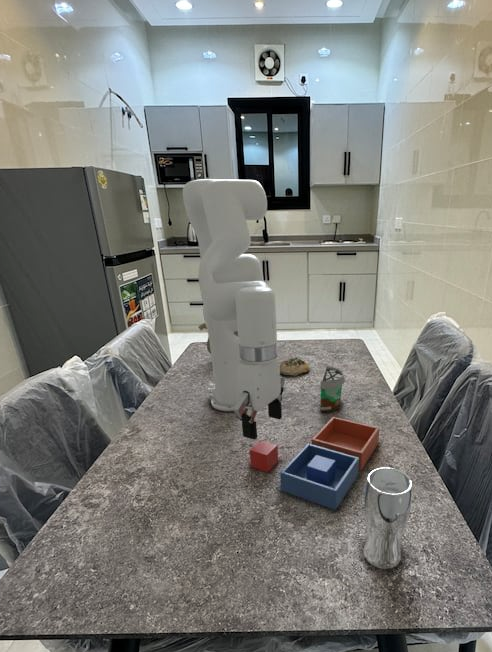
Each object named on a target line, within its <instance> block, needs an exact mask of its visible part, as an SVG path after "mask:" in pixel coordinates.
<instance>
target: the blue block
mask: <svg viewBox="0 0 492 652" xmlns="http://www.w3.org/2000/svg"><path fill="white" fill-rule="evenodd" d="M334 479H335V460H332V459H329V458H325V457H322V456H318V455H316V456H315V457H314V458H313V459H312V460H311V461H310V463H309V464H308V465H307V480H310V481H313V482H316V483H319V484H322V485H325V486H328V487H329V486H330V484H331V483H332V481H333V480H334Z"/></svg>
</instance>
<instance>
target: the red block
mask: <svg viewBox="0 0 492 652" xmlns="http://www.w3.org/2000/svg"><path fill="white" fill-rule="evenodd" d="M278 448H279V447H278V444H276V443H272V442H268V441H265V440H260V441H258V442H257V443H256V444H254V446H253V447H251V448H250V449H249V458H250V467H251V468H254V469H257V470H260V471H263V472H265V473H269V472H270V471H271V470H272V469H273V467H275V466H276V465H277V464H278V463H279V449H278Z"/></svg>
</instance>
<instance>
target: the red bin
mask: <svg viewBox="0 0 492 652" xmlns="http://www.w3.org/2000/svg"><path fill="white" fill-rule="evenodd" d="M379 439H380V427H378V426H373V425H369V424H365V423H360V422H357V421H353V420H348V419H345V418H340V417H335V416H332V417H331V418H330V419H329V420H328V421H327V422H326V424H324V426H323V427H321V429H320V430H319V431H317V433H316V434H315V435H314V436H313V437H312V438H311V444H312V445H316V446H319V447H323V448H327V449H330V450H334V451H337V452H341V453H344V454H348V455H351V456H355V457H358V458H359V468H358V471H362V470H363V468H364V467H365V466H366V464H367V462H368V460H369V459H370V457H371V456H372V454H373V452H374V451H375V450H376V448H377V446H378V445H379Z"/></svg>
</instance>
